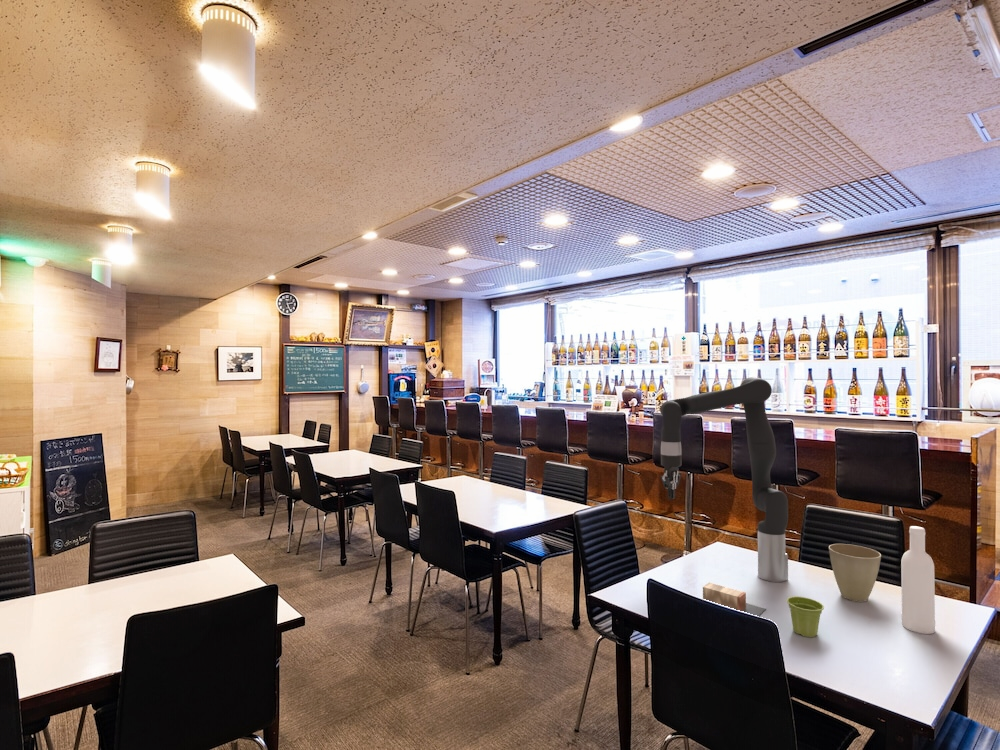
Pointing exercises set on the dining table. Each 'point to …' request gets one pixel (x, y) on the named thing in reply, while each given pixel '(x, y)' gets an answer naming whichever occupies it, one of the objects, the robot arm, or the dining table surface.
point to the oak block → (725, 596)
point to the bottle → (918, 585)
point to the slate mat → (754, 609)
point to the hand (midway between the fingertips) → (671, 498)
